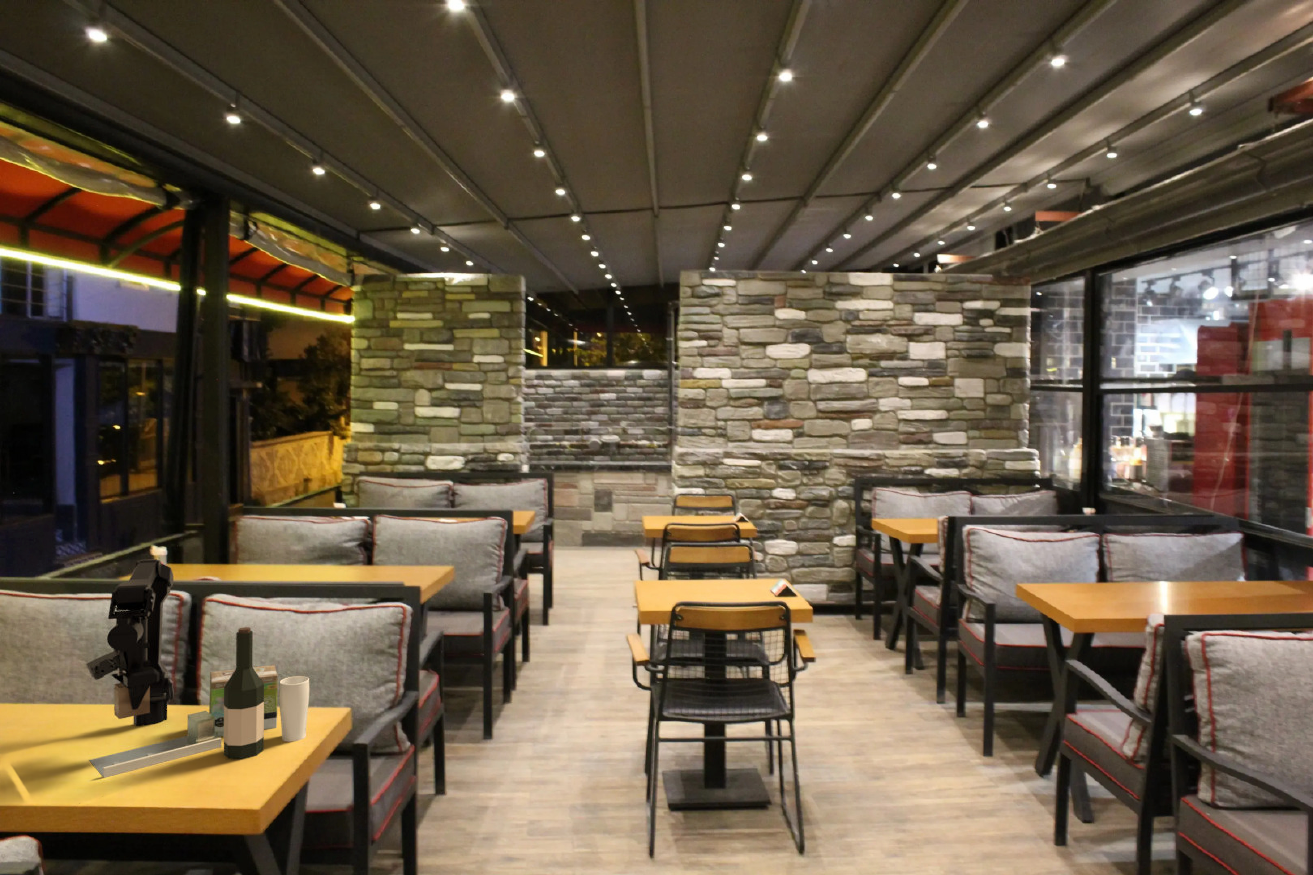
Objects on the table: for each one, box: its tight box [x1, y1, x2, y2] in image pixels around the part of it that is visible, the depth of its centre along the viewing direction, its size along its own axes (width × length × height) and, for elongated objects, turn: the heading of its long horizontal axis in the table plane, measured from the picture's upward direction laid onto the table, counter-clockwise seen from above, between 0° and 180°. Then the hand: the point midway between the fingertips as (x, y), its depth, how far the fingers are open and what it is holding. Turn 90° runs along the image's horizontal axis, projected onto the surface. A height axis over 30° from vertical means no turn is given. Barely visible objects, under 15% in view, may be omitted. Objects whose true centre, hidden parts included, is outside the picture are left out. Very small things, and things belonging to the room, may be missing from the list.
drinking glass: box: [278, 675, 310, 743], centre depth 198 cm, size 7×7×15 cm
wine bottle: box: [223, 626, 265, 761], centre depth 188 cm, size 8×8×30 cm
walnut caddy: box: [113, 682, 150, 720], centre depth 186 cm, size 6×4×7 cm, turn 137°
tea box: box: [208, 664, 279, 738], centre depth 204 cm, size 15×10×15 cm, turn 120°
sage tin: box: [187, 710, 216, 745], centre depth 192 cm, size 6×4×7 cm, turn 47°
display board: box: [88, 735, 222, 779], centre depth 187 cm, size 24×13×3 cm, turn 137°
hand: (132, 706), depth 186 cm, fingers closed on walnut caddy, 4 cm apart
